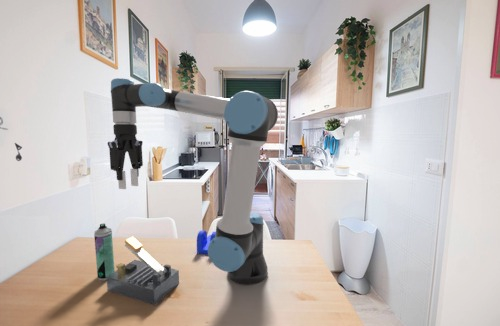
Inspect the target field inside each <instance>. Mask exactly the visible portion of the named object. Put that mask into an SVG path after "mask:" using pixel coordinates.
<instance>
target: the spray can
mask: <svg viewBox="0 0 500 326" xmlns="http://www.w3.org/2000/svg"><path fill="white" fill-rule="evenodd" d="M93 235H94V246H95V247H94V248H95V260H96V261H95V262H96V274H97V280H98V279H99V280H98V281H107V276H109V275H110V274H112V273H114V272H115V271H116V270H115V261H114V259H115V258H114V256H115V255H114V245H113V243H114V242H113V231H112V228H110V227H108V226H106V223H100V224H99V227H98V228H97V229H96V230H95V231H94V234H93Z"/></svg>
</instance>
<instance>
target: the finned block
mask: <svg viewBox="0 0 500 326" xmlns="http://www.w3.org/2000/svg"><path fill="white" fill-rule="evenodd" d="M159 264H160V263H159ZM160 265H161V266H163V267H164V268H166V269H167V273H165V274H164V275H163V276H161V277H160V274H158V273H154V272H153V271H152V270H151V269H150V268H149V267H148V266H147V265H145V264H144V263H143V262H142V261H141V260H138V259H134V260H132V261H131V262H129V263H127V264H125V263H121V262H120V263H118V264H116V265H115V267H116V269H117V270H115V272H114V273H112V274H110V275H109V276H107V280H106V287H107V292H111V293H114V294H117V295H120V296H124V297H126V298H130V299H134V300H136V301H139V302H142V303H145V304H149V305H152V306H156V305H157V304H158V303H159V302H160V301H161V300H163V299H164V298H165V297H166V296H167V295H168V294H169V293H170V292H171V291H173V290H174V289H175V288H176V287H177V286H179V284H180V275H179V274H180V272H179V269H175V268H172V265H170V264H164V265H163V264H160Z"/></svg>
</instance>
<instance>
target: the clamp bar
mask: <svg viewBox="0 0 500 326" xmlns="http://www.w3.org/2000/svg"><path fill="white" fill-rule="evenodd" d="M124 243H125V244H124V247H126V248H127V250H129V251H130V252H131V253H132V254H133V255H134V256H135V257H137V259H139V261H142V262H143V263H144V264H145V265H147V266H148V267H149V268H150V269H151V270H152V271H153V272H154V273H158V274H160V277H161V276H163V275H164V274H165V273H167V269H166V268H164V265H162V266H161V265H160V263H159V262H158V261H157V260H156V259H155V258H154V257H153V256H151V255H150V254H149V253H148V252H147V251H146V250H145V249H144V248H143V244H142V243H141V242H139V240H138V239H136V238H135V237H134V236H130V237H129V238H127V239H125V240H124Z"/></svg>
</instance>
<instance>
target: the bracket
mask: <svg viewBox="0 0 500 326" xmlns="http://www.w3.org/2000/svg"><path fill="white" fill-rule="evenodd" d="M215 234H216V231H212V233H211V234H209V235H208V233H207V231H206V230H199V231H198V232H197V237H196V253H197V254H199V255H200V254H201V255H208V245H209V243H210V242H211V240H212V239H213V238H215Z"/></svg>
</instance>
